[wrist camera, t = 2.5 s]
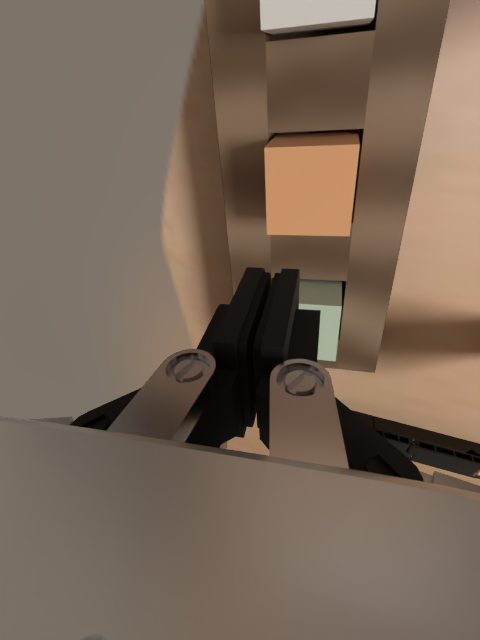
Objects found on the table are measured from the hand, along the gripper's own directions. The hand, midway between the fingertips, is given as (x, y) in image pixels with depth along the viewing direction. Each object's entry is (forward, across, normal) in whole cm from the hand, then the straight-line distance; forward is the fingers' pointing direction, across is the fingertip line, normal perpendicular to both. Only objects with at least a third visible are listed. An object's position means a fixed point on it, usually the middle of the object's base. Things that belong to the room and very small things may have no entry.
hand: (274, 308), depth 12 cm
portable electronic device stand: (+19, -11, +27) cm, 35 cm away
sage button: (+16, 0, +9) cm, 18 cm away
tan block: (+15, 0, -1) cm, 16 cm away
